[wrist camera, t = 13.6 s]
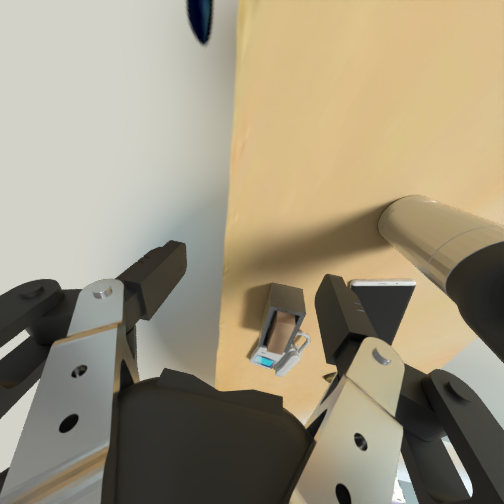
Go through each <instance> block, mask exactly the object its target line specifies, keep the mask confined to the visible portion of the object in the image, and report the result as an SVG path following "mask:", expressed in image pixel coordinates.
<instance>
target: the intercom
mask: <svg viewBox="0 0 504 504" xmlns="http://www.w3.org/2000/svg"><path fill="white" fill-rule="evenodd" d="M296 335H302V336H304V337H306V338H307V340H306V342H305V343H304V344H303V345H302V346H301V347H300V346H299V345H296V344H291V347H290V349H289V351H288V353H284V352H283V354H282V355H279V354H275V353H271V352H267V348H263V347H258V345H257V347H256V348H255V350H254V351H253V353H252V354H251V357H250V362H251V363H252V364H255V365H258V366H261V367H264V368H266V369H272V368H274V370H276V373H275V375H276V376H279V377H283V376H285V375H286V374H287V373H288V372H289V371H290V369H291V368H293V367H294V366H295V365H296V364H297V363H298V362H299V361H300V356H301V354H302V350H304V349H305V348H306V347H307V346H308V344H309V343H310V336H309V335H308V334H306V333H304V332H302V331H299V332H297V334H296Z"/></svg>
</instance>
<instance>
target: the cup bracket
mask: <svg viewBox="0 0 504 504" xmlns="http://www.w3.org/2000/svg"><path fill="white" fill-rule="evenodd" d="M275 311H280V312H285V313H289V314H294V315H295V325H296V326H295V328H294V330H293V332H292V334H291V337H290V339H289V341H288V343H287V345H286V348H285V350H284V353H288V351H289V349H290V347H291V344H292V342H293V340H294V338H295V336H296V334H297V332H298V330H299V328H300V326H301V323H302V321H303V319H304V317H305V315H306V310H305V303H304V296H303V289H299V288H295V287H290V286H286V285H281V284H276V283H272V285H271V288H270V292H269V295H268V299H267V302H266V306H265V309H264V313H263V316H262V320H261V326H260V334H259V342H258V347H263V348H267V339H268V332H269V329H270V326H271V323H272V320H273V317H274V314H275Z"/></svg>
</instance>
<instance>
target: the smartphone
mask: <svg viewBox="0 0 504 504" xmlns="http://www.w3.org/2000/svg"><path fill="white" fill-rule="evenodd" d="M415 286H416V282H415V281H414V280H413V279H357V280H352V281H351V283H350V289H351V290H352V291H353V292H354V293H355V294H356V295H357V296H358V298H359V300H360V302H361V305H362V306H363V308H364V310H365V313H366V314H367V316H368V318H369V320H370V322H371V324H372V326H373V328H374V330H375V332H376V334H377V336H378V338H379V339H380V340H382V341H384V342H386V343H387V344H388V345H390V346H391V345H392V342H393V340H394V337H395V335H396V333H397V330H398V328H399V325H400V323H401V320H402V318H403V315H404V313H405V311H406V308H407V306H408V303H409V301H410V298H411V296H412V293H413V291H414V289H415Z"/></svg>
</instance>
